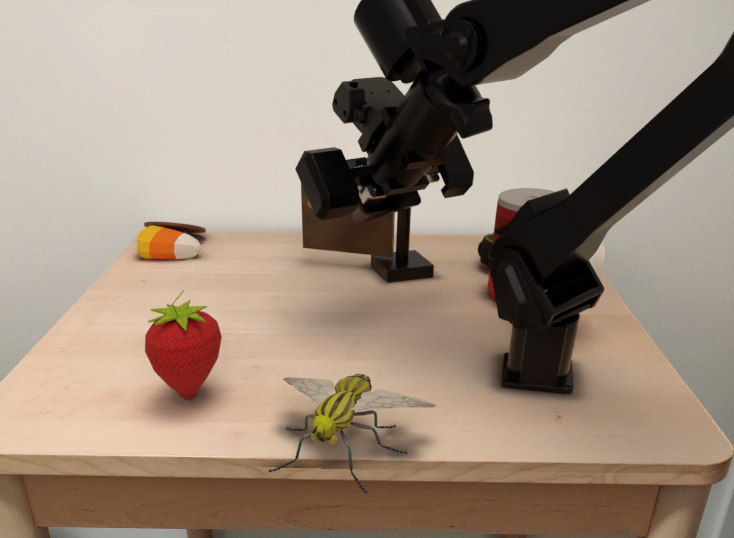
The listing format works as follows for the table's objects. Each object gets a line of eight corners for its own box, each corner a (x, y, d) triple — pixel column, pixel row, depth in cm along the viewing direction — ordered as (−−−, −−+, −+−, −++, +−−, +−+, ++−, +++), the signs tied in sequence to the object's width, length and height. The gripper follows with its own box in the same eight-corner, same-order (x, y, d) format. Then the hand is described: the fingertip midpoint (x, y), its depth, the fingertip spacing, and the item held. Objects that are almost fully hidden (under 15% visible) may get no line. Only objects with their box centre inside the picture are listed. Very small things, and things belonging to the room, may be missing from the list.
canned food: (534, 281, 91) (549, 185, 84) (566, 306, 84) (584, 205, 78) (475, 286, 89) (486, 189, 82) (503, 312, 83) (516, 209, 76)
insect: (439, 425, 63) (444, 371, 60) (399, 502, 54) (402, 445, 51) (295, 397, 66) (293, 345, 63) (237, 466, 58) (231, 410, 55)
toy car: (135, 219, 97) (135, 232, 97) (197, 223, 96) (196, 236, 97) (155, 228, 105) (155, 239, 105) (211, 231, 104) (211, 243, 105)
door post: (414, 261, 96) (420, 160, 89) (433, 277, 91) (440, 172, 84) (370, 266, 94) (372, 164, 87) (387, 282, 90) (391, 176, 83)
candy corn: (133, 261, 95) (193, 270, 94) (130, 239, 93) (191, 247, 92) (152, 242, 100) (210, 250, 99) (149, 220, 98) (208, 228, 97)
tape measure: (541, 267, 95) (546, 237, 93) (515, 281, 91) (519, 250, 88) (494, 255, 98) (498, 226, 96) (466, 268, 94) (470, 238, 92)
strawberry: (240, 384, 68) (231, 277, 63) (199, 424, 63) (184, 310, 57) (183, 374, 70) (169, 268, 64) (138, 411, 64) (117, 299, 58)
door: (393, 254, 93) (397, 168, 87) (390, 259, 91) (393, 171, 85) (305, 245, 95) (302, 160, 89) (300, 250, 94) (297, 164, 88)
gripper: (466, 42, 73) (396, 145, 87) (301, 52, 65) (252, 165, 79) (512, 144, 73) (434, 231, 86) (351, 168, 64) (293, 260, 78)
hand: (356, 220), depth 82 cm, fingers closed
